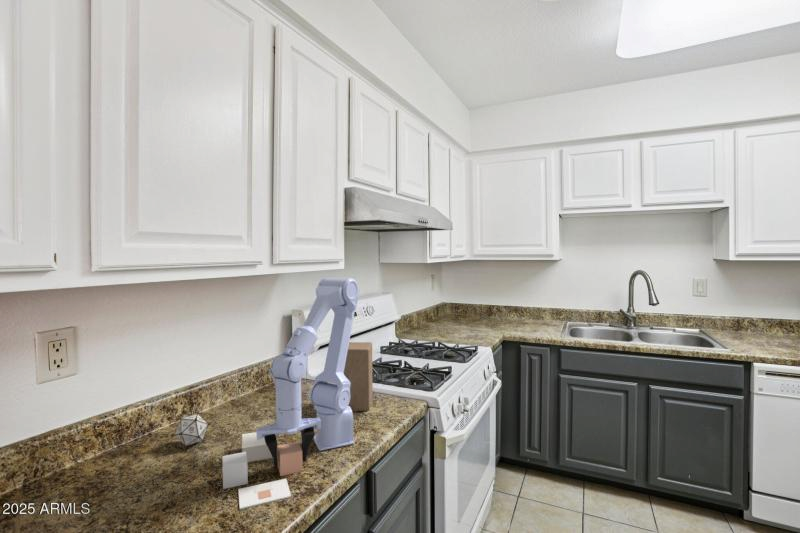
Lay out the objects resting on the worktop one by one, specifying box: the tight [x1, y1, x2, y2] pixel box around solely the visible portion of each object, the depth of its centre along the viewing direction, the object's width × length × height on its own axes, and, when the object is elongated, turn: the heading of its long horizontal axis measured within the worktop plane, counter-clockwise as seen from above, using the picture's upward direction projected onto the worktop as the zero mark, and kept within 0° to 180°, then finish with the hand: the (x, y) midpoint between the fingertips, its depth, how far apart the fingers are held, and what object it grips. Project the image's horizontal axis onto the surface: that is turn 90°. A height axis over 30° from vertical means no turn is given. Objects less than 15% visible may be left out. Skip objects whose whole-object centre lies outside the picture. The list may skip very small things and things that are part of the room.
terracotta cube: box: [277, 441, 304, 477], centre depth 96 cm, size 5×5×5 cm
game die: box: [171, 410, 213, 451], centre depth 108 cm, size 9×8×10 cm
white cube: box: [222, 451, 249, 490], centre depth 91 cm, size 5×5×5 cm
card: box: [238, 478, 292, 510], centre depth 86 cm, size 10×7×1 cm
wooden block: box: [344, 341, 374, 412], centre depth 134 cm, size 10×10×20 cm
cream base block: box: [241, 431, 273, 463], centre depth 104 cm, size 8×8×4 cm
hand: (289, 462), depth 96 cm, fingers open, 6 cm apart
